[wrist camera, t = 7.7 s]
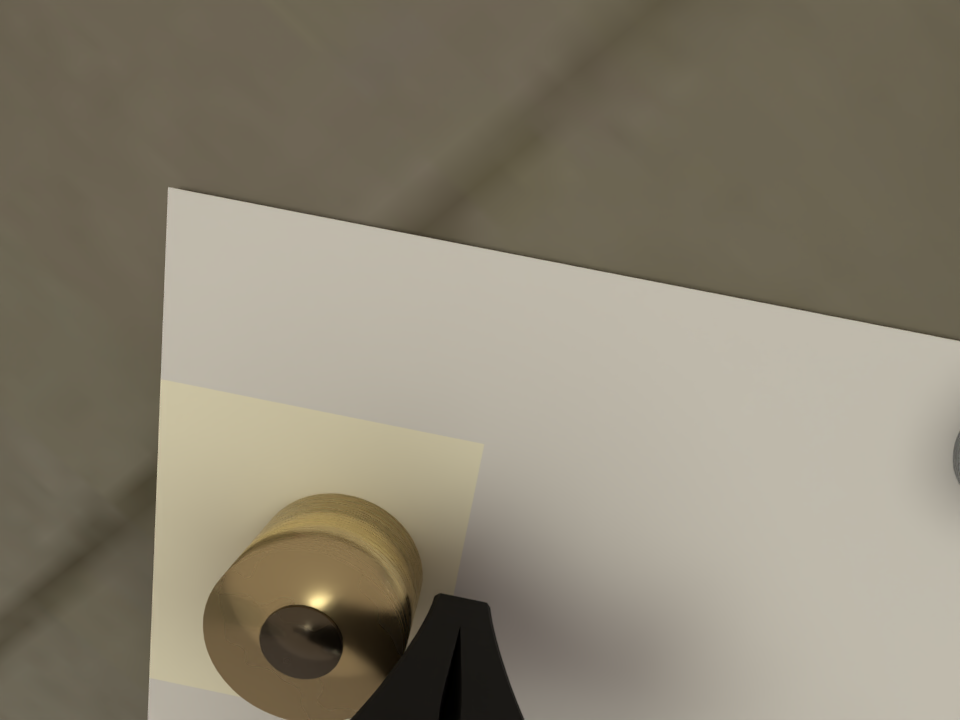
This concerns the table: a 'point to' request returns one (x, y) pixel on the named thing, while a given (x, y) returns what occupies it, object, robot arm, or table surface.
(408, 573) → the gold round knob
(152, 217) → the table surface
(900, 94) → the table surface
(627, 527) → the mat
